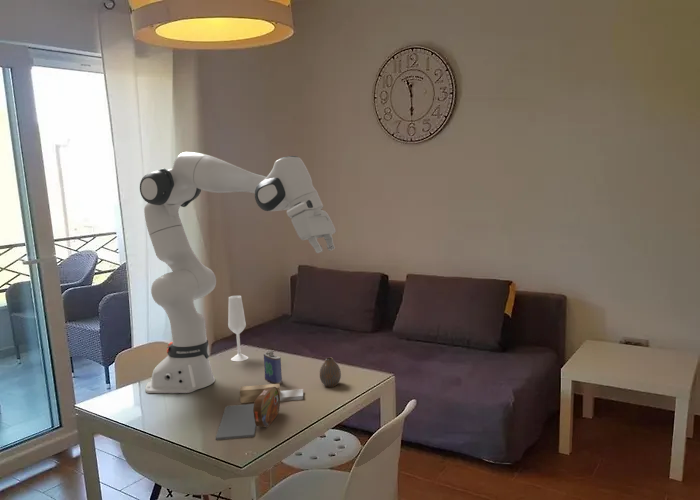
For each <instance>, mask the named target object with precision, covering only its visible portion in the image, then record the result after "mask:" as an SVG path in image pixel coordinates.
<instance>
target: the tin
mask: <svg viewBox="0 0 700 500" xmlns="http://www.w3.org/2000/svg"><path fill="white" fill-rule="evenodd" d="M280 403H281V401H280V397H279V392H278V389H277V388H276V387H268V388H265V389H264V390H263V392H262V393H261V394H260V395H259V396H258V397H257V398H256V400H255V402H253V404H254V407H253V412H254V419H255V424H256V427H258V428H269V427H270V426H271V424H272V423H273V421H274V420H275V419H276V417H277V416H278V415H279V411H280V408H281V406H280V405H281V404H280Z"/></svg>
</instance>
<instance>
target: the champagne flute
mask: <svg viewBox="0 0 700 500" xmlns="http://www.w3.org/2000/svg"><path fill="white" fill-rule="evenodd" d="M227 311H228V312H227V313H228V314H227V316H228V317H227V318H228V321H227V325H228V326H227V327H228V328H229V330H230V331H231V332H233V333H234V334H235V335H236V336H235V337H236V347H237V348H236V349H237V354H235V355H233V357H231V358H230V360H231V361H233V362H242V361H246V360H248V359H249V356H247V355H245V354H243V353H242V351H241V350H242V349H241V338H240V337H241V335H240V334H241V333H242V332H243V331H244V330H245V328H246V326H247V323H246V316H245V310H244V305H243V299H242V295H231V296H228V309H227Z"/></svg>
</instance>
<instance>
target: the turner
mask: <svg viewBox="0 0 700 500" xmlns="http://www.w3.org/2000/svg"><path fill="white" fill-rule="evenodd" d="M268 387H276V388H277V389H278V392H279V397H280V402H289V401H291V402H292V401H300V400H301V401H302V400H304V388H299V389H287V390H281V383H280V384H273V383H269V384H256V385H245V386H243V385H242V386H240V387H239V388H240V389H239V396H240V397H239V399H240V404H246V403H254V402H255V400H256V398H257V397H258V396H259V395H260V394H261V393H262V392H263V390H264V389H265V388H268Z"/></svg>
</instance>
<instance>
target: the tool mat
mask: <svg viewBox="0 0 700 500" xmlns="http://www.w3.org/2000/svg"><path fill="white" fill-rule="evenodd" d="M253 407H254V403H248V404H246V403H244V404H234V405H225V407H224V411H223V414H222V417H221V420H220V423H219V427H218V430H217V432H216V435H215V440H217V441H221V440H233V439H242V438H243V439H244V438H254V437H255V435H256V430H257V426H256V424H255V419H254V412H253Z"/></svg>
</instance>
